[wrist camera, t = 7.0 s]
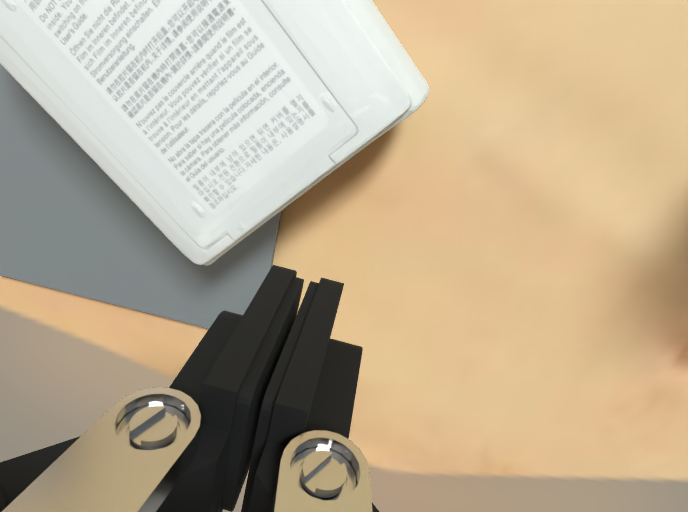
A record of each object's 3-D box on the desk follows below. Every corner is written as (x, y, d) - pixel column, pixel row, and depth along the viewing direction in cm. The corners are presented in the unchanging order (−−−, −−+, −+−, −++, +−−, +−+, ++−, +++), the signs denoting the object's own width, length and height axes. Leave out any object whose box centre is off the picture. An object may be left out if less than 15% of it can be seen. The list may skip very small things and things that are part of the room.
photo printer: (433, 81, 16) (177, -290, 13) (440, 98, 12) (79, -423, 9) (232, 239, 20) (-6, -16, 17) (190, 289, 16) (-129, -29, 13)
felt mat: (324, -43, 15) (322, -44, 15) (260, 336, 23) (257, 341, 22) (-54, -137, 16) (-64, -141, 15) (3, 270, 23) (-3, 274, 22)
